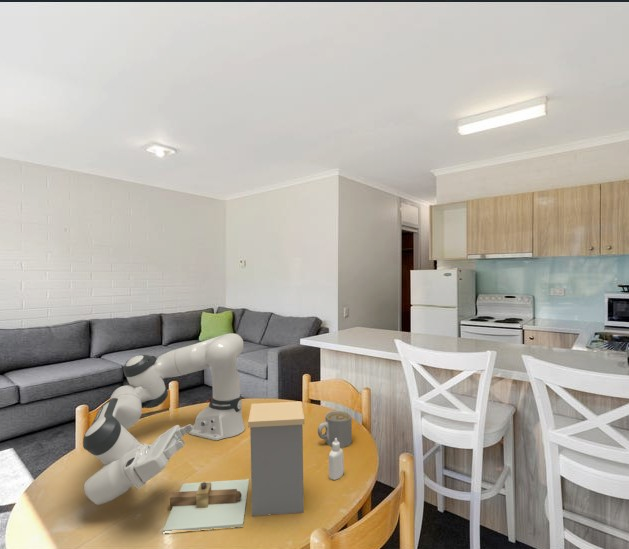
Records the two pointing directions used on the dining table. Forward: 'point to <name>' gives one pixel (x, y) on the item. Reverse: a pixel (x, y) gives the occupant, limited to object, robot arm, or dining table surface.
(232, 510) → the sage mat
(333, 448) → the eye dropper bottle
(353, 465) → the dining table surface
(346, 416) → the coffee mug
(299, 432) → the stand
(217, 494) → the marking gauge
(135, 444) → the robot arm
